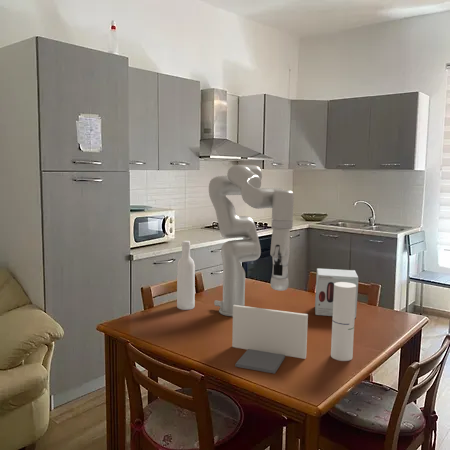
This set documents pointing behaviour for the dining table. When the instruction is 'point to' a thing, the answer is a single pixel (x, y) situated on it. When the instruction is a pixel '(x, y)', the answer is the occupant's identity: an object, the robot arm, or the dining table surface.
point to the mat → (260, 361)
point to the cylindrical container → (343, 321)
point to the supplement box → (331, 288)
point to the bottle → (185, 279)
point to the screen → (270, 331)
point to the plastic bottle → (282, 281)
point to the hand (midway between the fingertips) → (279, 272)
